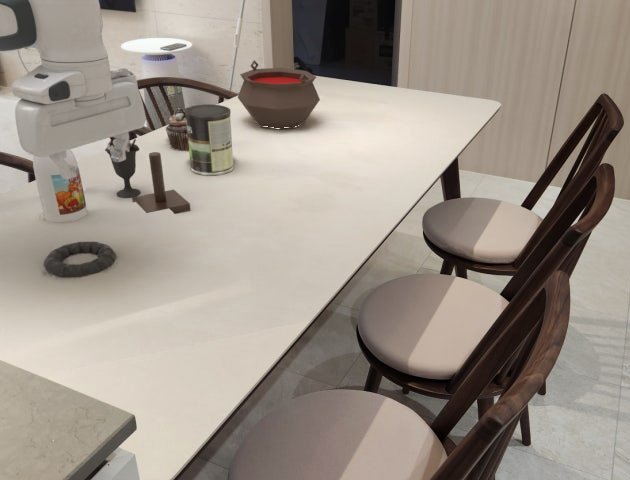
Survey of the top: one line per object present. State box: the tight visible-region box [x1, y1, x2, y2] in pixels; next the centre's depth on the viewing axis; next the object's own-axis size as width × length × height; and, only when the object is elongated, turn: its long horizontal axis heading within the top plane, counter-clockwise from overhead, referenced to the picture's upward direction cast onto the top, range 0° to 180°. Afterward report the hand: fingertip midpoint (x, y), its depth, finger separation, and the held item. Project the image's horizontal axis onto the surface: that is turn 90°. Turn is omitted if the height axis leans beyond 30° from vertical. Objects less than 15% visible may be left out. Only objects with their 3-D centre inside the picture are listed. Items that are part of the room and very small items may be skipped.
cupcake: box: [165, 106, 189, 151], centre depth 164 cm, size 10×10×10 cm
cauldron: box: [237, 59, 321, 128], centre depth 185 cm, size 24×24×16 cm
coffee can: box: [184, 103, 235, 176], centre depth 150 cm, size 10×10×14 cm
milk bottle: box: [32, 149, 88, 223], centre depth 120 cm, size 8×8×20 cm
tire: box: [43, 241, 118, 278], centre depth 108 cm, size 11×11×3 cm
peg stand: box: [131, 151, 191, 214], centre depth 129 cm, size 9×9×12 cm
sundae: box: [104, 137, 142, 199], centre depth 134 cm, size 7×7×15 cm
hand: (95, 169), depth 98 cm, fingers open, 8 cm apart
